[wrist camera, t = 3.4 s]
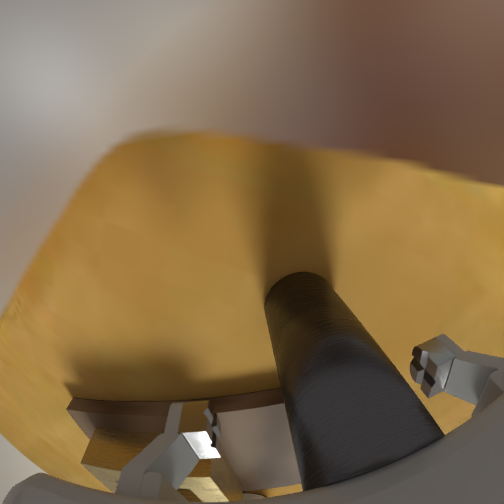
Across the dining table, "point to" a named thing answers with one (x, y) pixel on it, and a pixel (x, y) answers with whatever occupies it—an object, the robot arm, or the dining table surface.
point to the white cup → (251, 496)
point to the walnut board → (232, 431)
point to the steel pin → (339, 386)
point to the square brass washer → (132, 443)
